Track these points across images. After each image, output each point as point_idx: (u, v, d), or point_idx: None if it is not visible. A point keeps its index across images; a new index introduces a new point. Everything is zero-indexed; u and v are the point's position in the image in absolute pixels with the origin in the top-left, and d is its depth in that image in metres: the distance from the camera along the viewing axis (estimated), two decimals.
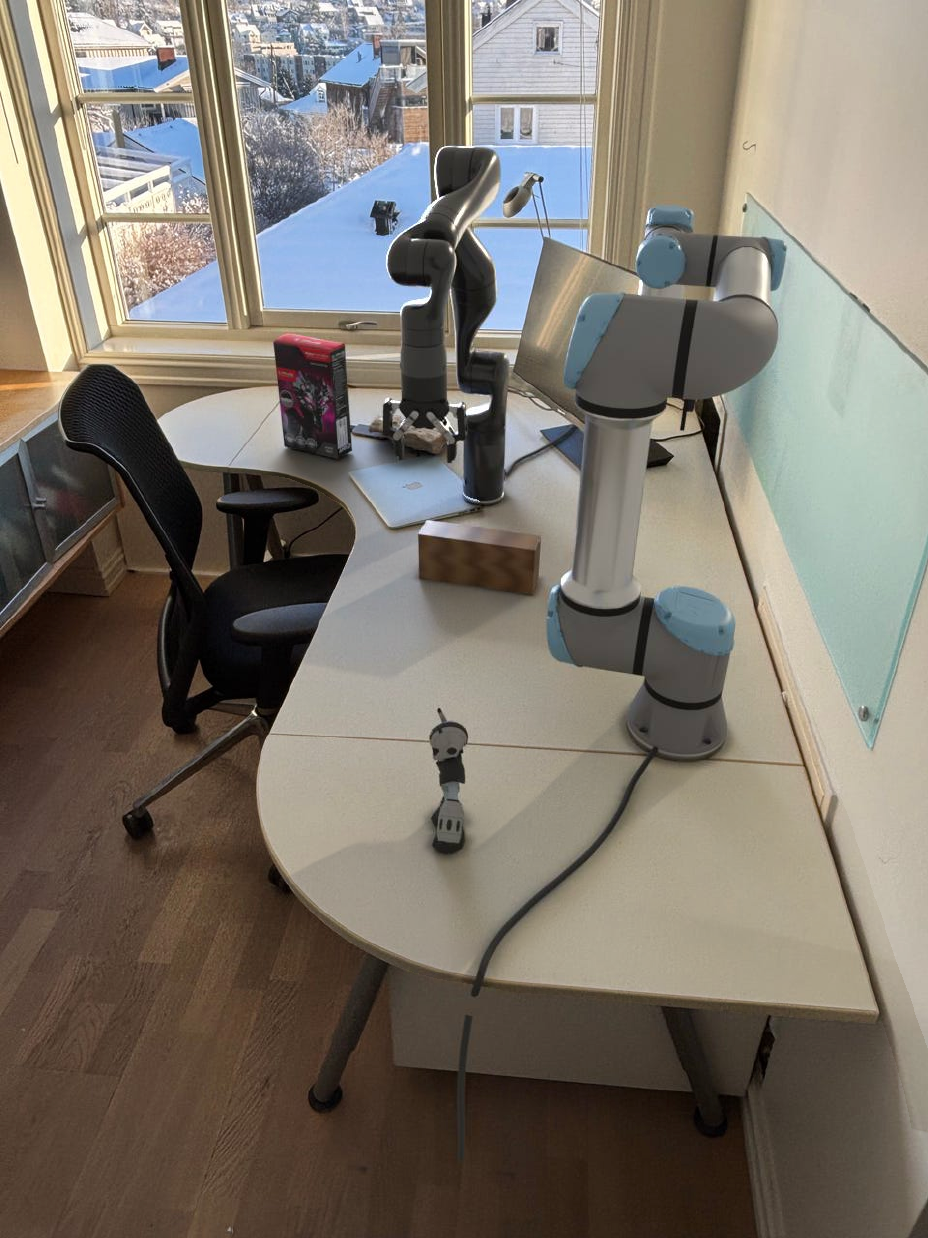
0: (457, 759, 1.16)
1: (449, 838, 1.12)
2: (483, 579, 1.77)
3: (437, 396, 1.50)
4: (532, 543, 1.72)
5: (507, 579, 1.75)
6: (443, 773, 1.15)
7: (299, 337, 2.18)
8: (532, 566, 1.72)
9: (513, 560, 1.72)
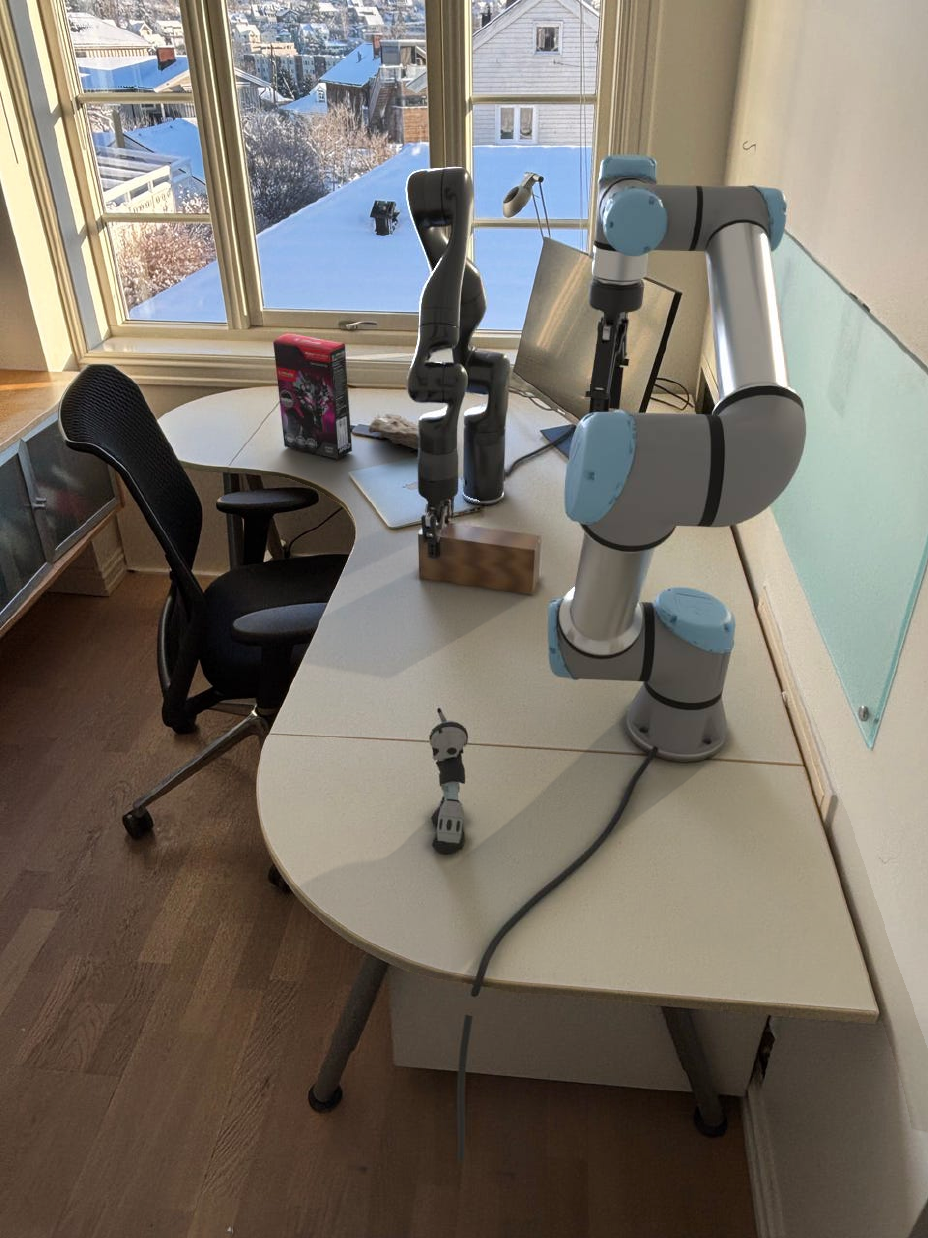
0: (457, 759, 1.16)
1: (449, 838, 1.12)
2: (483, 579, 1.77)
3: None
4: (532, 543, 1.72)
5: (507, 579, 1.75)
6: (443, 773, 1.15)
7: (299, 337, 2.18)
8: (532, 566, 1.72)
9: (513, 560, 1.72)
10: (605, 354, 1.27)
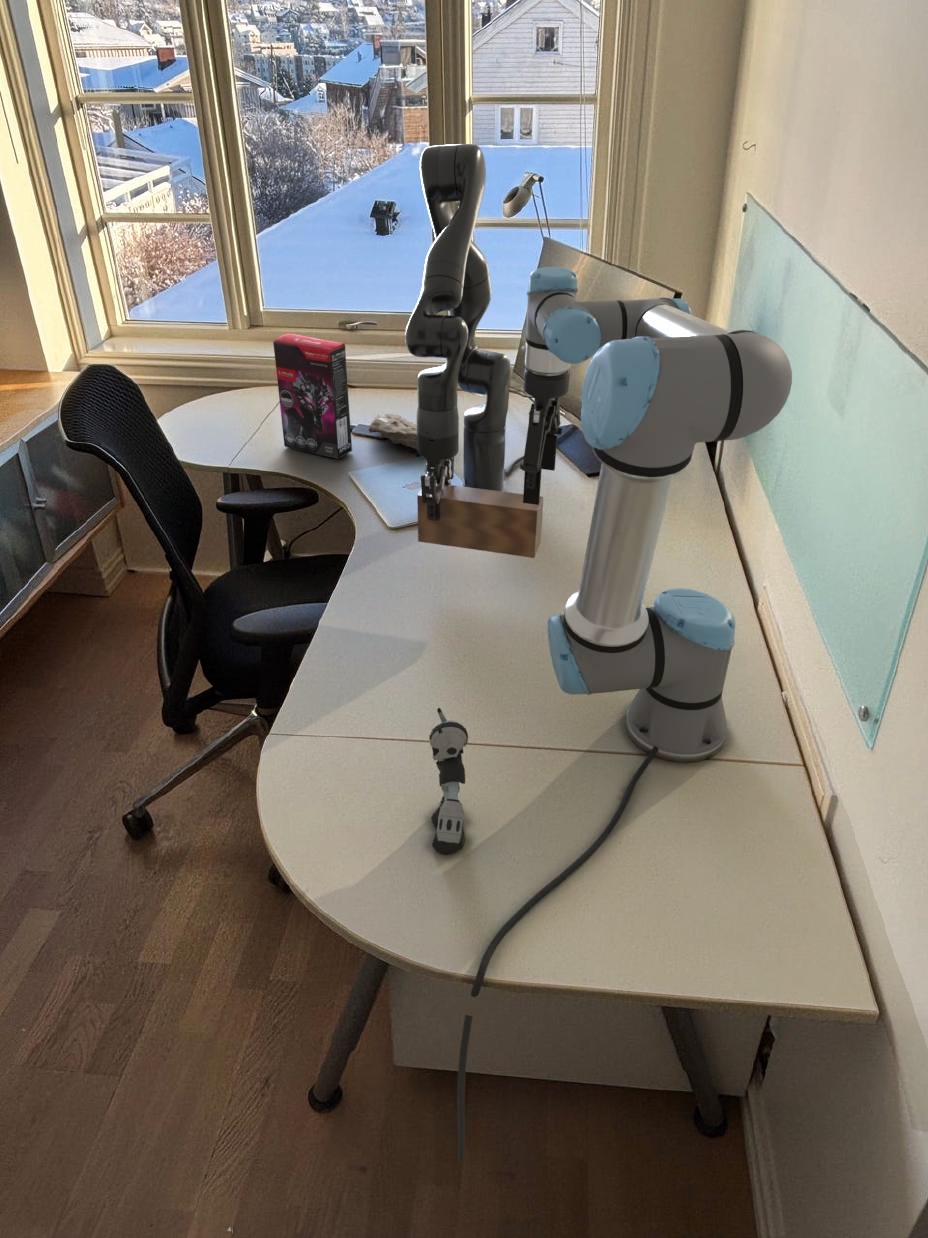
0: (457, 759, 1.16)
1: (449, 838, 1.12)
2: (484, 542, 1.72)
3: None
4: (534, 504, 1.68)
5: (509, 541, 1.71)
6: (443, 773, 1.15)
7: (299, 337, 2.18)
8: (534, 528, 1.68)
9: (514, 521, 1.68)
10: (535, 435, 1.49)
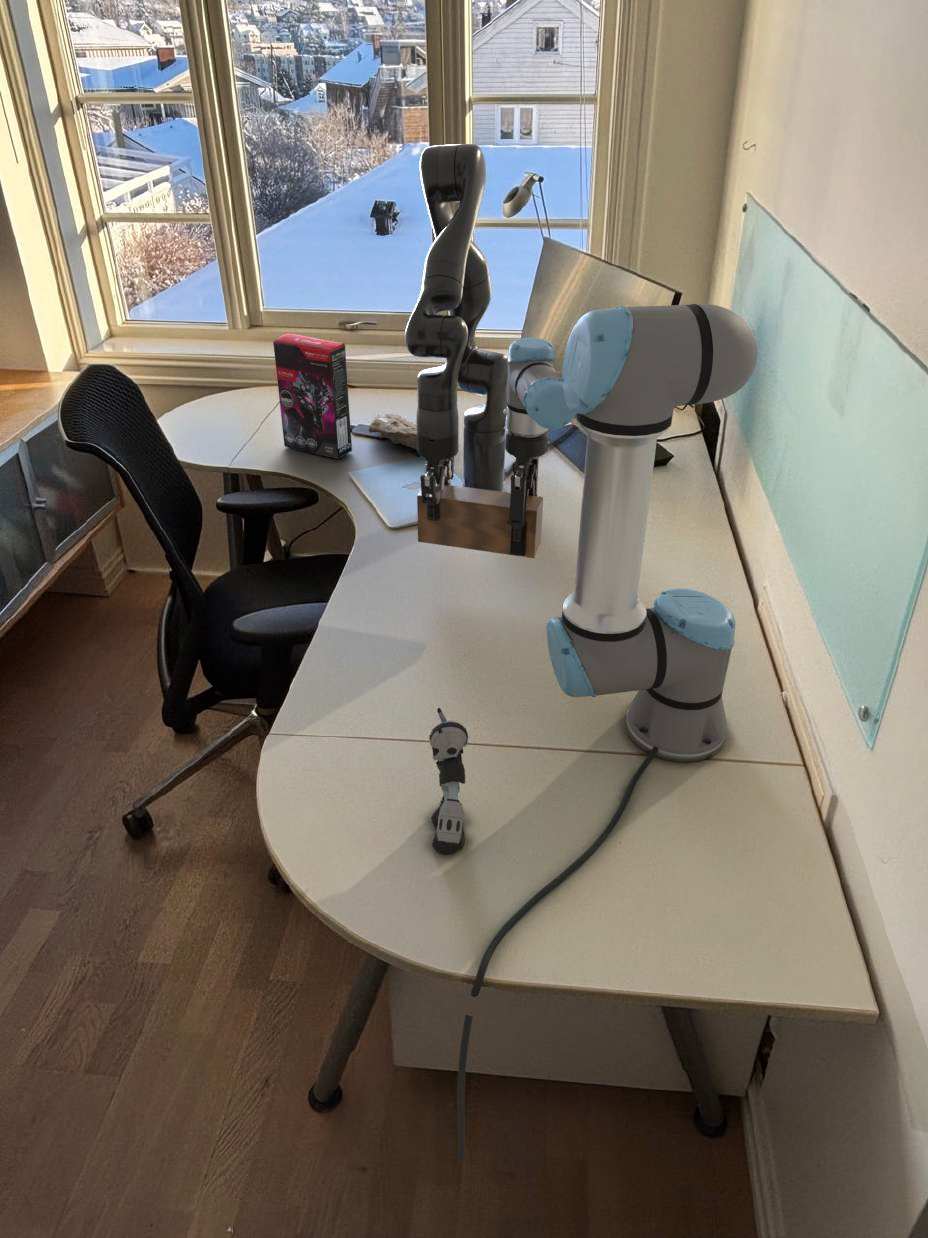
0: (457, 759, 1.16)
1: (449, 838, 1.12)
2: (483, 542, 1.72)
3: None
4: (534, 504, 1.68)
5: (508, 542, 1.71)
6: (443, 773, 1.15)
7: (299, 337, 2.18)
8: (534, 528, 1.68)
9: None
10: (518, 497, 1.61)
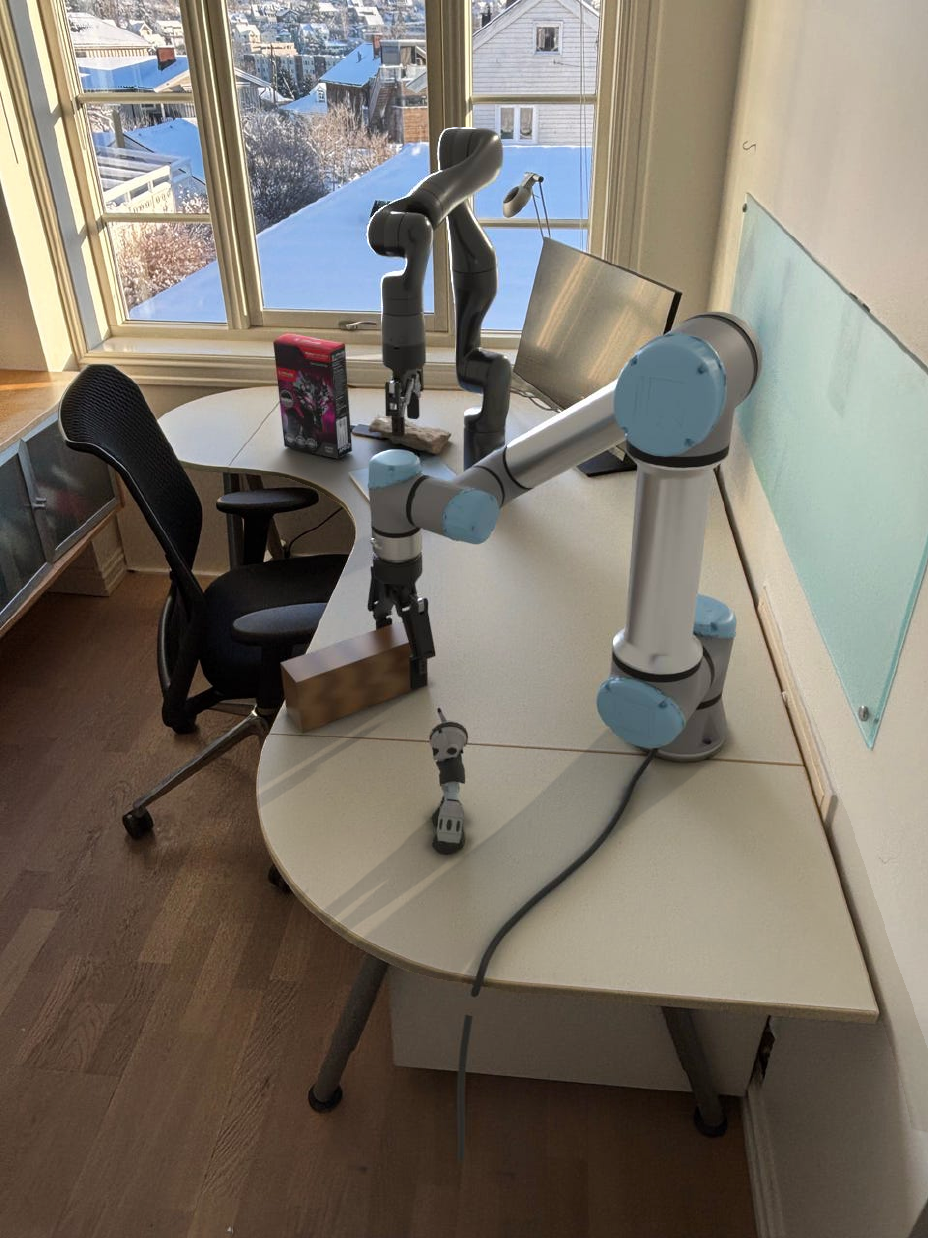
0: (457, 759, 1.16)
1: (449, 838, 1.12)
2: (375, 695, 1.47)
3: None
4: None
5: (401, 681, 1.49)
6: (443, 773, 1.15)
7: (299, 337, 2.18)
8: None
9: (405, 657, 1.47)
10: (424, 623, 1.39)
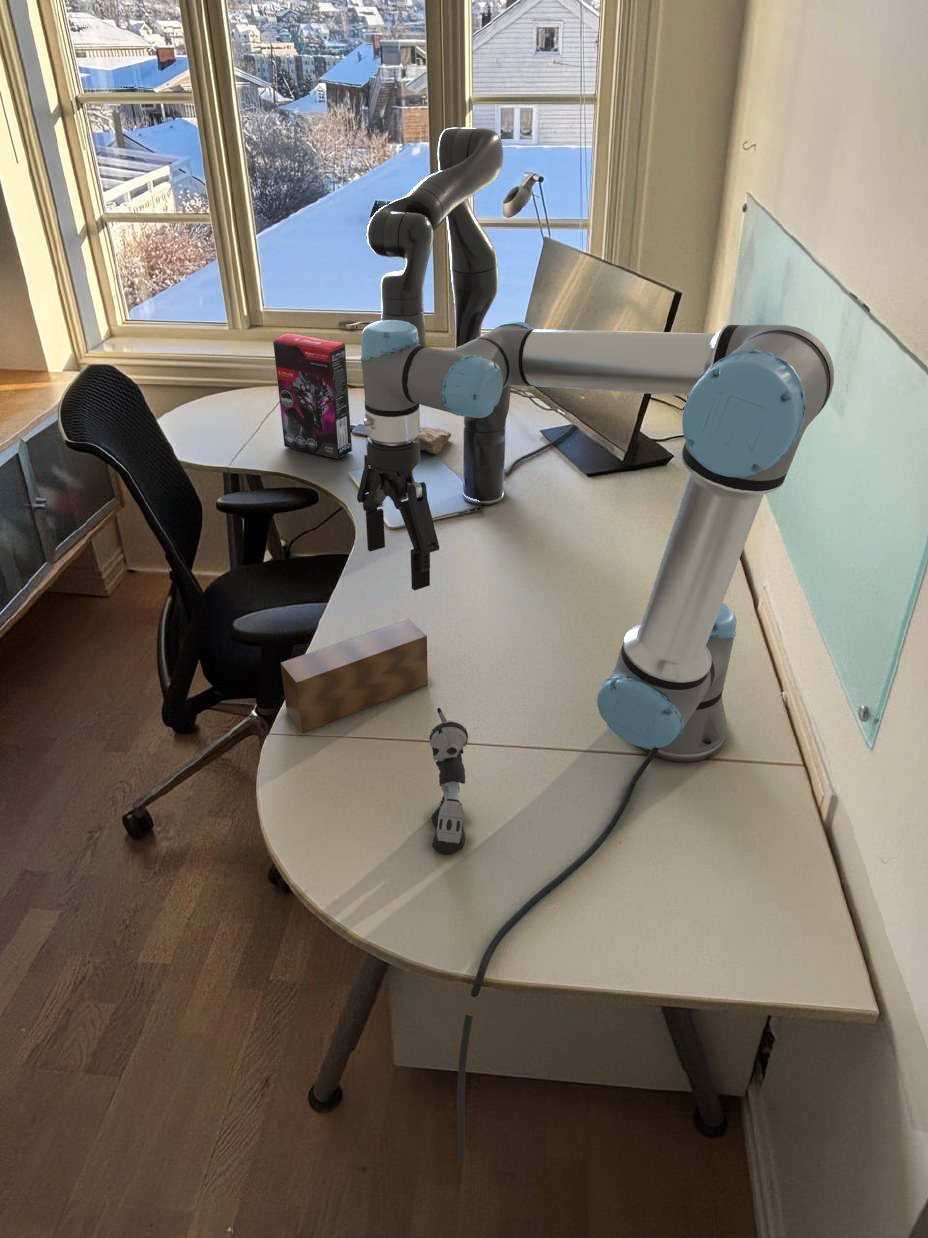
0: (457, 759, 1.16)
1: (449, 838, 1.12)
2: (375, 695, 1.47)
3: None
4: (413, 630, 1.48)
5: (401, 681, 1.49)
6: (443, 773, 1.15)
7: (299, 337, 2.18)
8: (425, 654, 1.49)
9: (405, 657, 1.47)
10: (424, 511, 1.28)
